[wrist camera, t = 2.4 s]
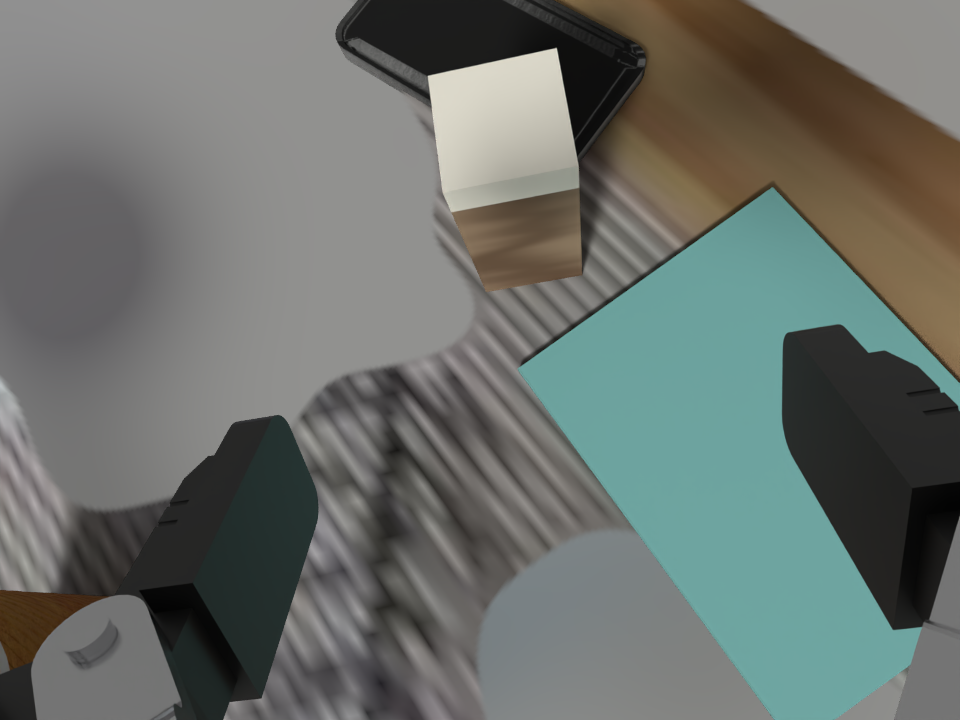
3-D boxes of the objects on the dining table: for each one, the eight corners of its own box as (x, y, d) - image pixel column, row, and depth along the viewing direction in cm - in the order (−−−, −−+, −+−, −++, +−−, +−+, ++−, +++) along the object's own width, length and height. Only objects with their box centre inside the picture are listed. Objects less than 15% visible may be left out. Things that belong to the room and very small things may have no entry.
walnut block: (486, 292, 33) (442, 192, 23) (474, 205, 34) (427, 75, 24) (582, 274, 32) (578, 165, 22) (566, 187, 33) (556, 47, 24)
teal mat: (518, 371, 31) (517, 368, 31) (769, 192, 32) (772, 186, 31) (791, 743, 26) (795, 748, 26) (1088, 528, 27) (1097, 528, 26)
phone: (560, 178, 33) (326, 37, 36) (561, 189, 34) (334, 52, 37) (657, 51, 33) (417, -74, 37) (655, 66, 34) (422, -57, 38)
